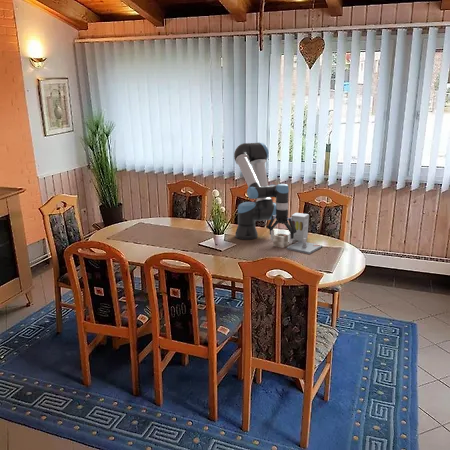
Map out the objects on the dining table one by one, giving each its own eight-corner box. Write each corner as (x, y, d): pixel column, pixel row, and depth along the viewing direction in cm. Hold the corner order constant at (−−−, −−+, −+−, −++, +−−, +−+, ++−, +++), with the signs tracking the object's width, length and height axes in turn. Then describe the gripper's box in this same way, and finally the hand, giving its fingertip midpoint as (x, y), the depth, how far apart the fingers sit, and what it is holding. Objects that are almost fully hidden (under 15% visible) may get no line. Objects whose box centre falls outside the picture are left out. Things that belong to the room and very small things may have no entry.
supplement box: (289, 239, 307) (290, 215, 303) (294, 236, 315) (295, 212, 310) (303, 241, 303) (304, 216, 298) (308, 238, 311) (309, 213, 306)
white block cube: (273, 245, 294) (273, 234, 292) (279, 243, 299) (279, 232, 297) (282, 248, 290) (283, 236, 288) (288, 245, 295) (288, 234, 293)
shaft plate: (286, 249, 288) (286, 239, 286) (299, 242, 301) (300, 233, 299) (309, 254, 278) (310, 244, 277) (322, 247, 291) (322, 237, 290)
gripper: (261, 207, 293) (261, 239, 298) (296, 212, 278) (295, 246, 283) (268, 205, 299) (267, 237, 304) (302, 210, 284) (301, 243, 289)
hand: (281, 241), depth 294 cm, fingers open, 13 cm apart
